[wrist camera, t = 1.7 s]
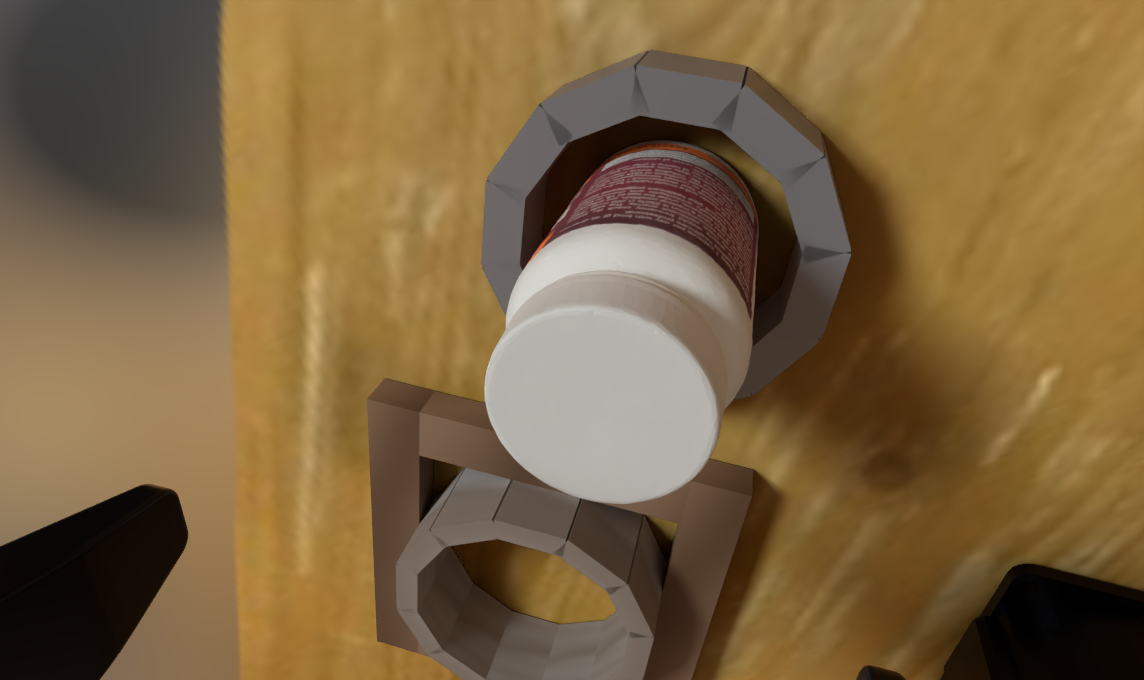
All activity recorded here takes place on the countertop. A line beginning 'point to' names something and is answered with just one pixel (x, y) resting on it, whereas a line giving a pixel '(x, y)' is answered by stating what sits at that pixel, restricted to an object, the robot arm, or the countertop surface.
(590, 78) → the holder
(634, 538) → the socket board
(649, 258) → the pill bottle
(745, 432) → the countertop surface
